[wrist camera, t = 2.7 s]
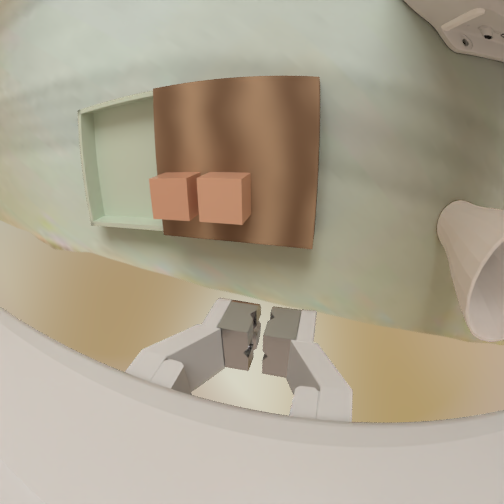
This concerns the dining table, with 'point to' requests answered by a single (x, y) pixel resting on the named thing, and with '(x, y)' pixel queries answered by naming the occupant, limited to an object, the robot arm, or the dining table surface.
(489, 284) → the cup
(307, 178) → the board
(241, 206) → the tile
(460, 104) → the dining table surface
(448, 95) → the dining table surface
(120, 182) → the tray
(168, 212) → the tile
